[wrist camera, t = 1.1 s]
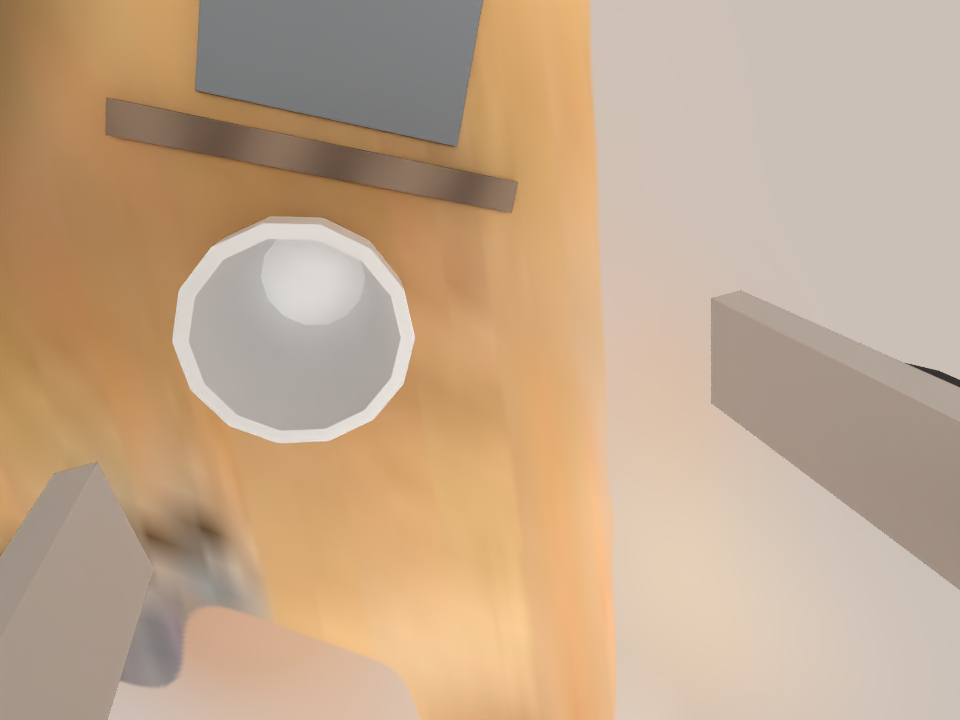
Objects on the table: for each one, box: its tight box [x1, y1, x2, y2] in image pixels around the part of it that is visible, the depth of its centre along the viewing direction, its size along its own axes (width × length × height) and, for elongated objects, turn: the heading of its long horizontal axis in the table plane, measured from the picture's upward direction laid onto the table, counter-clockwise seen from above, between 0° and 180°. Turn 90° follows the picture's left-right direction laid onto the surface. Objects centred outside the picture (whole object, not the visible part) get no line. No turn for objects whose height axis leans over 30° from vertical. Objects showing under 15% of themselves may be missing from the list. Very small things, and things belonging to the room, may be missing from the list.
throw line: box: [106, 98, 518, 213], centre depth 35 cm, size 22×2×1 cm, turn 78°
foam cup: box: [172, 216, 415, 443], centre depth 31 cm, size 10×9×13 cm
